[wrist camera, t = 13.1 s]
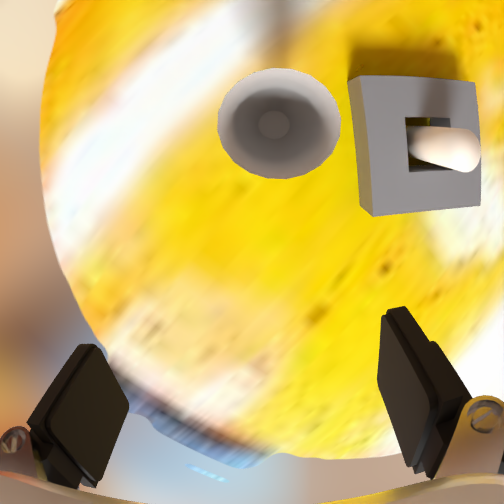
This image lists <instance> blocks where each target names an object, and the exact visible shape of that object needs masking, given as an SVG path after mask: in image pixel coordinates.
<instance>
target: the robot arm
mask: <svg viewBox="0 0 504 504" xmlns="http://www.w3.org/2000/svg"><path fill="white" fill-rule="evenodd" d="M377 382H378V387H379V390H380V393H381V395H382V398H383V401H384V403H385V406H386V409H387V412H388V414H389V417H390V420H391V423H392V425H393V428H394V431H395V434H396V437H397V440H398V443H399V446H400V449H401V451H402V454H403V457H404V460H405V463H406V466H407V467H411V466H412V467H413V470H414V473H415V474H417V473H421V472H424V471H425V473H426V476H427V477H428V478H430V480H429V481H424V482H420V483H416V484H412V485H408V486H404V487H400V488H396V489H392V490H388V491H383V492H379V493H375V494H370V495H366V496H361V497H356V498H350V499H344V500H339V501H332V502H326V503H319V504H504V402H503V401H501V400H500V399H499V398H496V397H493V396H486V395H483V396H478V397H475V398H472V396H471V395H470V393H469V392H468V390H467V388H466V387H465V385H464V383H463V382H462V380H461V379H460V377H459V376H458V374H457V372H456V371H455V369H454V368H453V366H452V365H451V363H450V362H449V360H448V359H447V357H446V356H445V354H444V353H443V351H442V350H441V348H440V347H439V345H438V344H437V343H436V342H434V341H431V342H430V341H429V340H428V338H427V337H426V335H425V334H424V332H423V331H422V329H421V328H420V326H419V325H418V323H417V322H416V321H415V319H414V318H413V316H412V315H411V313H410V312H409V311H408V309H407V308H406V307H405V306H402V307H397V308H392V309H388V310H387V312H386V315H382V317H381V332H380V349H379V362H378V374H377ZM128 410H129V402H128V400H127V398H126V396H125V394H124V393H123V391H122V389H121V387H120V385H119V384H118V382H117V380H116V378H115V376H114V374H113V372H112V370H111V368H110V367H109V365H108V363H107V361H106V359H105V357H104V355H103V353H102V351H101V349H100V348H98V347H97V346H96V345H95V344H80V345H78V346H77V348H76V349H75V351H74V352H73V353H72V355H71V356H70V357H69V359H68V360H67V362H66V363H65V365H64V366H63V368H62V369H61V370H60V372H59V374H58V375H57V376H56V378H55V379H54V381H53V382H52V384H51V385H50V387H49V388H48V390H47V391H46V393H45V394H44V396H43V397H42V399H41V401H40V402H39V403H38V405H37V407H36V408H35V410H34V411H33V413H32V414H31V416H30V418H29V419H28V421H27V424H28V425H29V426H30V428H31V430H30V432H29V431H28V430H27V429H26V428H25V427H22V426H16V427H12V428H10V429H9V430H7V431H6V432H5V433H4V434H3V435H2V436H1V438H0V504H145V503H139V502H133V501H127V500H121V499H115V498H110V497H105V496H101V495H96V494H92V493H87V492H84V491H80V489H79V484H80V483H81V484H82V485H84V486H88V487H92V488H96V486H97V483H98V481H100V480H101V479H102V478H103V475H104V472H105V469H106V467H107V464H108V461H109V459H110V456H111V454H112V451H113V448H114V446H115V443H116V441H117V438H118V435H119V433H120V430H121V428H122V425H123V423H124V420H125V418H126V415H127V413H128Z"/></svg>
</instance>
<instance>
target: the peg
mask: <svg viewBox="0 0 504 504" xmlns="http://www.w3.org/2000/svg"><path fill="white" fill-rule="evenodd" d="M406 137H407V149H408V157H411V158H415V159H419V160H422V161H426V162H430V163H433V164H437V165H441V166H444V167H447V168H451V169H454V170H458V171H461V172H470V171H472V170H473V169H474V168H475V167H476V166H477V165H478V163H479V160H480V156H481V147H480V143H479V140H478V138H477V137H476V135H475V134H474V133H473V132H471V131H470V130H468V129H461V128H448V127H433V126H413V125H409V126H406Z"/></svg>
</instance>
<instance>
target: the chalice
mask: <svg viewBox="0 0 504 504" xmlns="http://www.w3.org/2000/svg"><path fill="white" fill-rule="evenodd" d="M340 124H341V117H340V114H339V110H338V107H337V103H336V101H335V99H334V98H333V97H332V95H331V94H330V92H329V91H328V90H327V88H326V87H325V86H324V85H323V84H321V83H320V82H319V81H317V80H316V79H315V78H313V77H312V76H310V75H308V74H305V73H302V72H299V71H296V70H294V69H284V68H271V69H266V70H262V71H258V72H254V73H252V74H250V75H249V76H247V77H245V78H243V79H242V80H240V81H238V82H237V83H236V84H235V85H234V87H233V88H232V89H231V90H230V91H229V92H228V93H227V94H226V95H225V98H224V100H223V102H222V105H221V107H220V109H219V112H218V129H217V130H218V134H219V137H220V140H221V143H222V146H223V148H224V149H225V151H226V152H227V153H228V155H229V156H230V157H231V159H232V160H233V161H234V162H235V163H236V164H238V165H239V166H241V167H242V168H244V169H245V170H247V171H248V172H249V173H253V174H256V175H259V176H262V177H265V178H275V179H288V178H292V177H296V176H301V175H304V174H306V173H308V172H310V171H311V170H313V169H315V168H317V167H319V166H320V165H321V164H322V163H323V162H324V161H325V160H326V159H327V158H328V157H329V156H330V155H331V153H332V152H333V150H334V148H335V146H336V143H337V141H338V139H339V137H340Z"/></svg>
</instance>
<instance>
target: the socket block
mask: <svg viewBox="0 0 504 504" xmlns="http://www.w3.org/2000/svg"><path fill="white" fill-rule="evenodd" d="M347 84H348V90H349V97H350V105H351V112H352V120H353V129H354V138H355V147H356V158H357V170H358V183H359V198H360V206H361V207H362V208H363V209H364V210H366V211H367V212H368V213H369V214H370V215H372V216H373V217H375V216H384V215H393V214H402V213H412V212H421V211H431V210H441V209H451V208H461V207H472V206H480V202H481V156H480V160H479V163H478V165H477V166H476V167H475V168H474V169H473V170H472V171H470V172H461V171H458V170H454V169H451V168H447V167H444V166H441V165H437V164H427V165H408V149H407V137H406V126H405V117H426V118H430V126H433V127H448V128H461V129H468V130H470V131H471V132H473V133H474V134H475V135H476V137H477V138H478V140H479V143H480V128H479V115H478V105H477V96H476V88H475V83H474V82H467V81H459V80H450V79H439V78H427V77H411V76H376V75H365V76H358V77H356V78H354V79H352V80H350V81H348V82H347ZM480 147H481V145H480Z"/></svg>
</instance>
